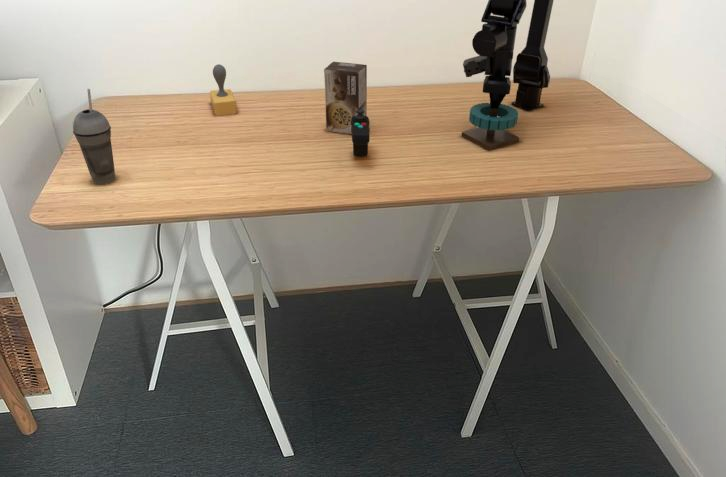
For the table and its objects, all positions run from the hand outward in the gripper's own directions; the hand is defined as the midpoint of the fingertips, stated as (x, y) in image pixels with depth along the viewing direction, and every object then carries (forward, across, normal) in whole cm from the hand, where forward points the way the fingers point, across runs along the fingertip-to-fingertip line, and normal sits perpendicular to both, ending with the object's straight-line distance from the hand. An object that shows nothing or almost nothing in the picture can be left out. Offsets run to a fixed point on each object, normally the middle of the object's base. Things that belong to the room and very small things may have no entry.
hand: (493, 109), depth 153 cm
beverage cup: (+6, +46, -80) cm, 92 cm away
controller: (+6, +22, -29) cm, 37 cm away
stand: (+6, +4, 0) cm, 7 cm away
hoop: (+1, +4, 0) cm, 5 cm away
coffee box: (+6, +7, -36) cm, 37 cm away
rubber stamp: (+6, 0, -72) cm, 72 cm away
